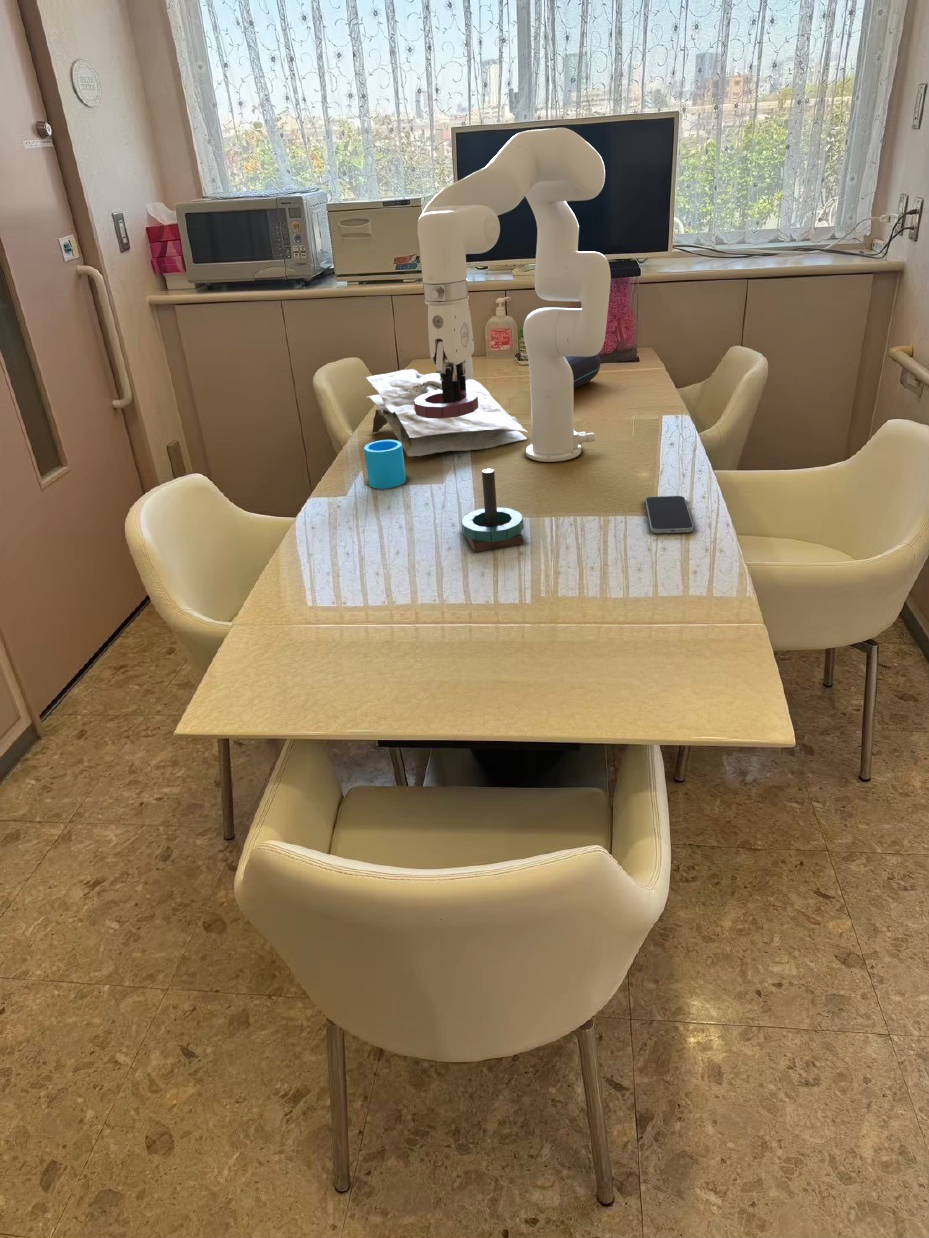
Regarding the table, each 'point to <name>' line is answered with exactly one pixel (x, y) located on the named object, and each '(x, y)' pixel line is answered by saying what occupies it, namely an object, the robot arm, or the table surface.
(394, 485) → the mug
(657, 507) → the smartphone
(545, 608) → the table surface
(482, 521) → the teal ring
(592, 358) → the portable speaker
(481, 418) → the plastic wrap
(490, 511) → the peg stand
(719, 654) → the table surface
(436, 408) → the plum ring
